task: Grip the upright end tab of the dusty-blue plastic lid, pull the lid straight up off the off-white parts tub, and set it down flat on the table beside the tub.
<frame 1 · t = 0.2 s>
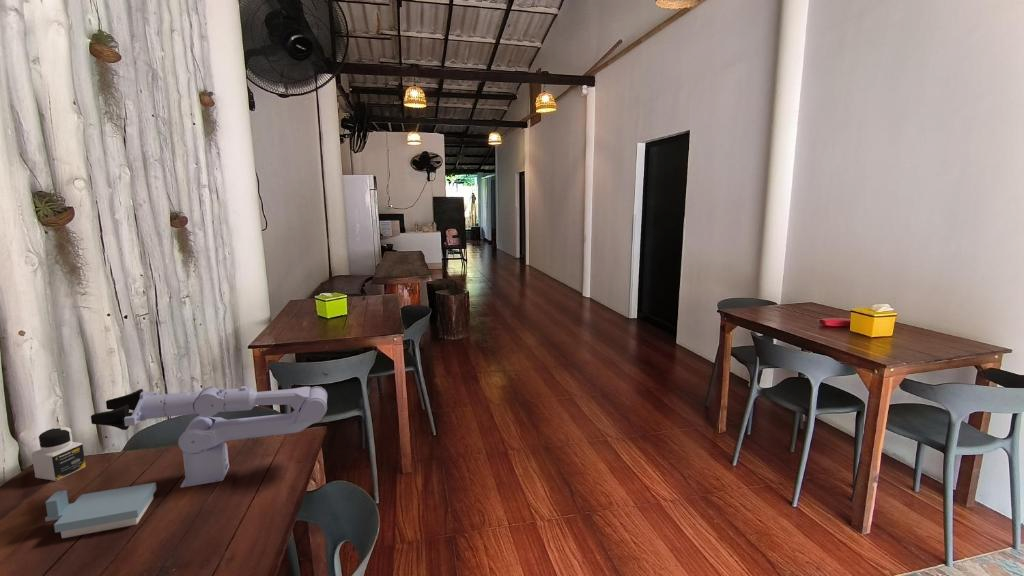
hand: (99, 411, 110), 21 cm above the table, tool horizontal, fingers open, 7 cm apart
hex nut: (128, 511, 105), point 1 cm above the table, touching tub
tub: (111, 519, 104), on the table
lid: (109, 509, 103), point 2 cm above the table, touching tub
rubber block: (94, 522, 102), point 1 cm above the table, touching tub
medicine bottle: (61, 473, 122), on the table
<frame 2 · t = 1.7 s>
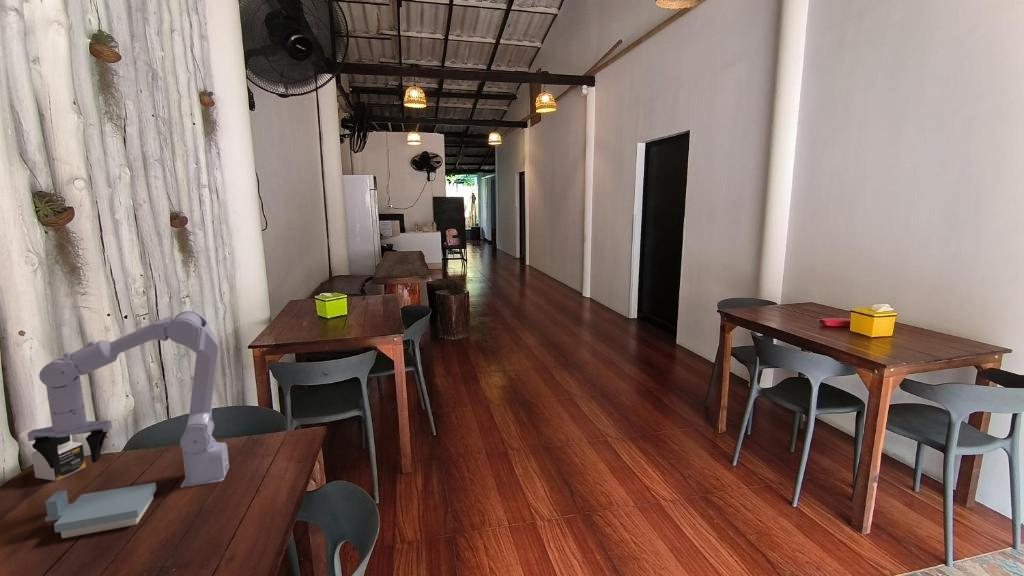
hand: (75, 463, 107), 10 cm above the table, tool pointing down, fingers open, 7 cm apart
nothing on the table moved.
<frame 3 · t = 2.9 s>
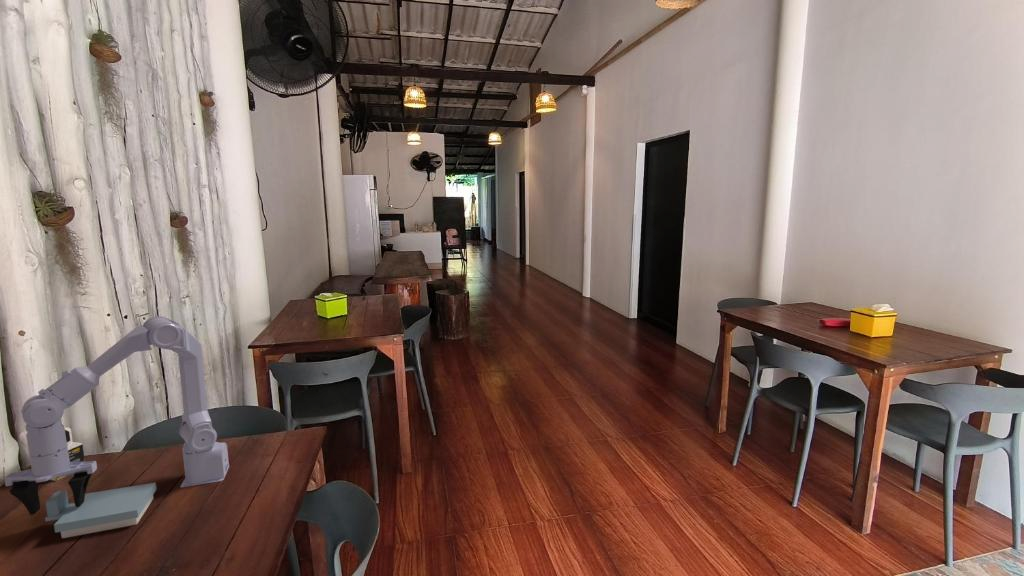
hand: (58, 508, 100), 5 cm above the table, tool pointing down, fingers open, 7 cm apart
nothing on the table moved.
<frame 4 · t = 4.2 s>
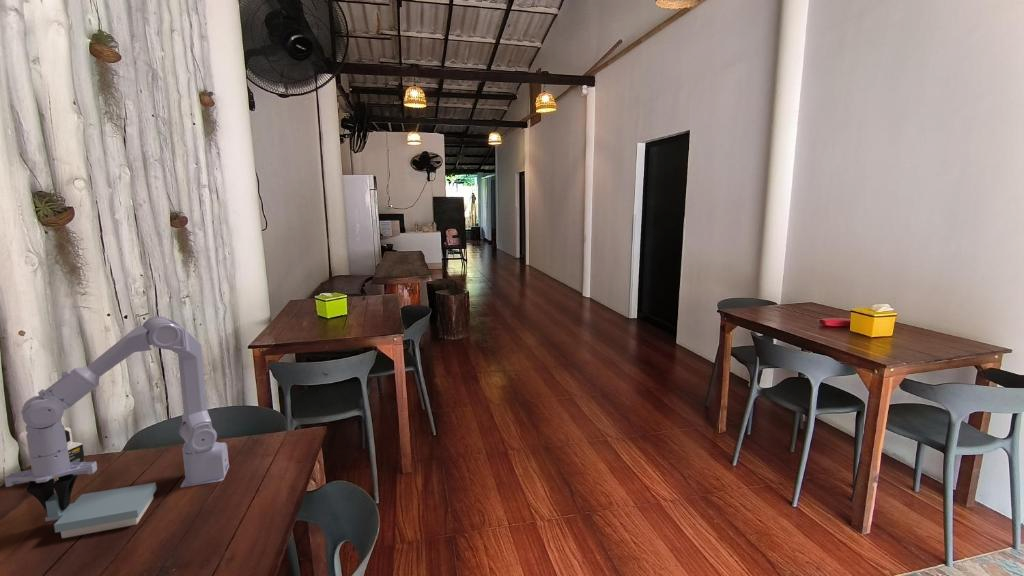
hand: (58, 508, 100), 5 cm above the table, tool pointing down, fingers closed on lid
lid: (109, 509, 103), point 2 cm above the table, touching gripper, tub
everything else where it was.
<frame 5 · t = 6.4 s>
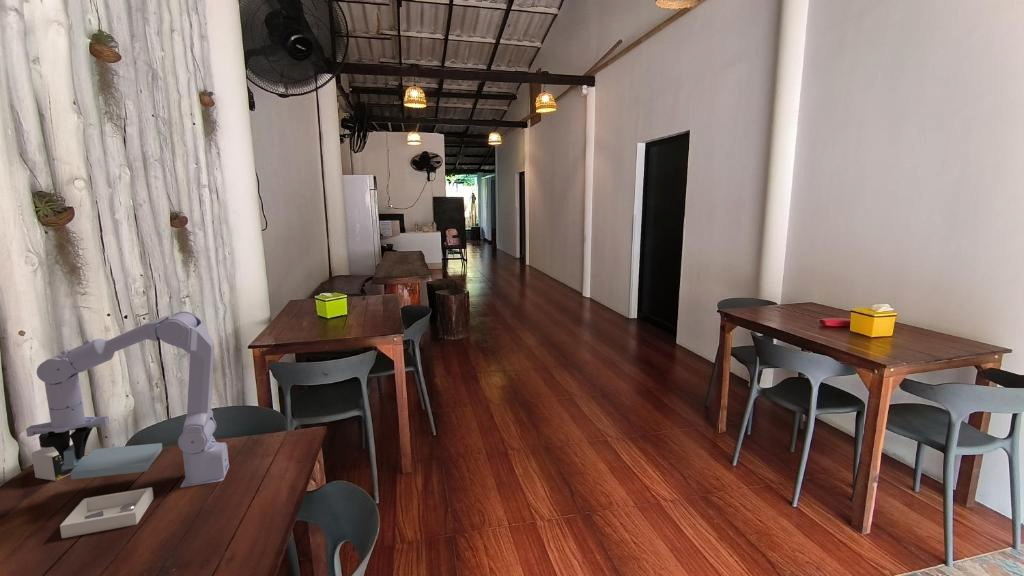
hand: (74, 458, 109), 10 cm above the table, tool pointing down, fingers closed on lid
lid: (119, 463, 113), point 7 cm above the table, touching gripper
everything else where it was.
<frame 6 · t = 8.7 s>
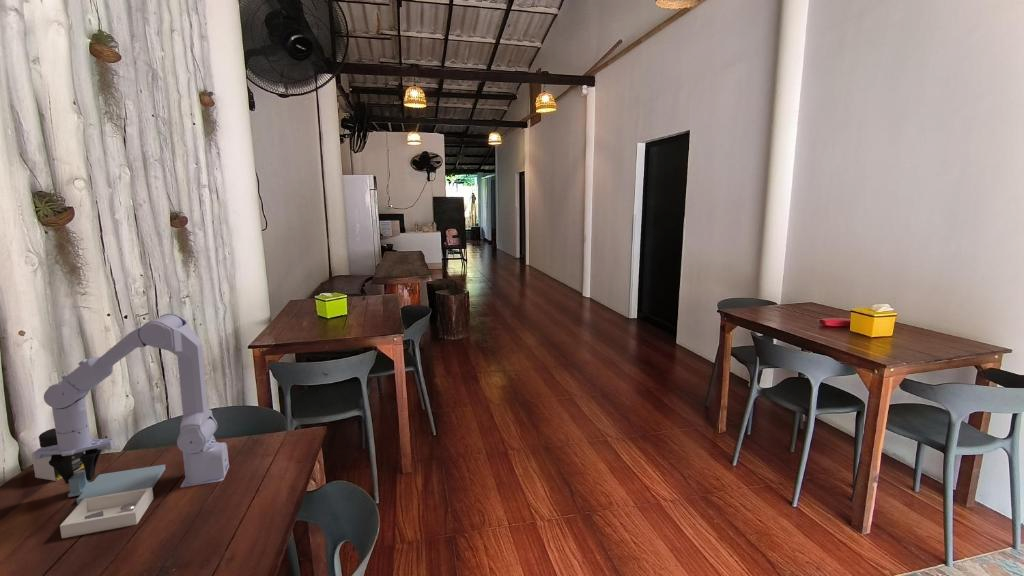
hand: (80, 480, 112), 4 cm above the table, tool pointing down, fingers open, 3 cm apart
lid: (124, 487, 116), on the table
everything else where it was.
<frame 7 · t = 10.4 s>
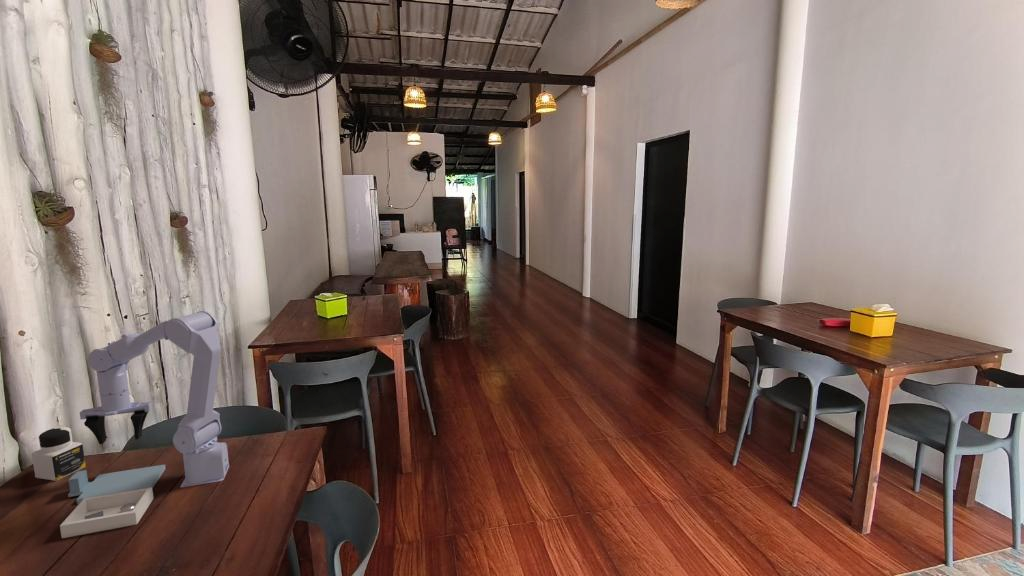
hand: (120, 439, 121), 9 cm above the table, tool pointing down, fingers open, 7 cm apart
nothing on the table moved.
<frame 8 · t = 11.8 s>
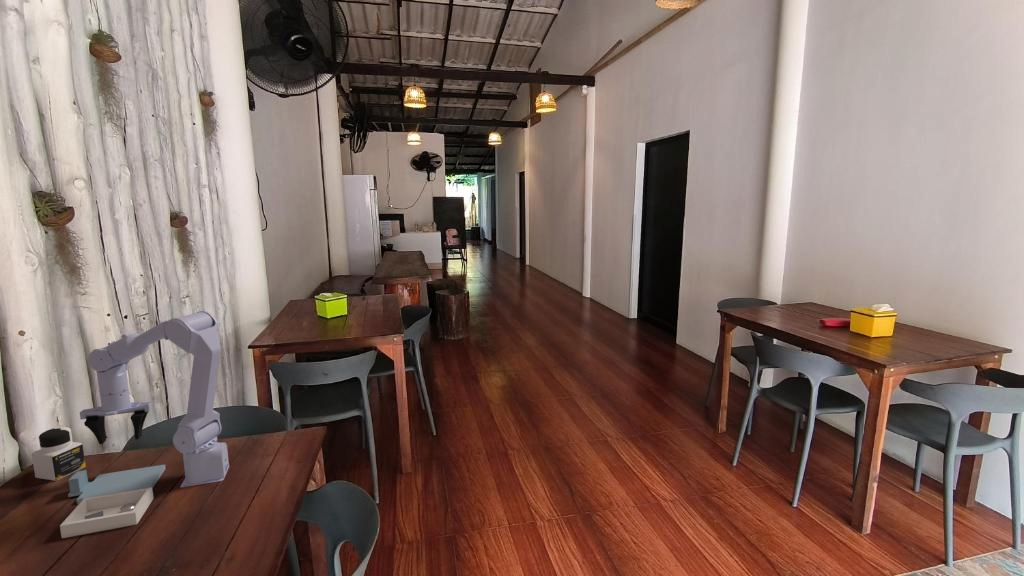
hand: (120, 439, 121), 9 cm above the table, tool pointing down, fingers open, 7 cm apart
nothing on the table moved.
at the end: lid inside the target area (0.4 cm from its centre), on the table; lid tilted 0°; the gripper is holding nothing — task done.
